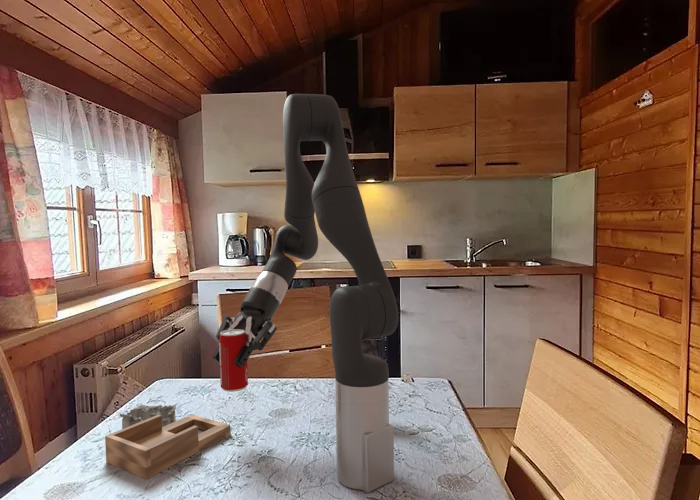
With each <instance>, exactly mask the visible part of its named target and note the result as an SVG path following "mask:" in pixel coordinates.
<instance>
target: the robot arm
mask: <svg viewBox="0 0 700 500" xmlns="http://www.w3.org/2000/svg"><path fill="white" fill-rule="evenodd" d="M285 99H286V100H285V102H284V106H283V110H282V130H283V153H284V154H283V155H284V168H285V169H284V170H285V182H286V183H285V197H284V198H285V201H284V212H283V217H284V220H285V221H286V223H288V224H285V225H282V226H281V227H280V228H279V229H278V230H277V231H276V233H275V237H274V242H273V245H272V246H273V247H272V249H271V252H270V256H269V259H268V260H267V262H266V264H265V266H264V267H263V269H262V270H261V271H260V274H259V275H258V276H257V278H255V280H254V282H253V283H252V285H251V287H250V288H249V290H247V293H246V294H245V297H244V298H243V300H242V301H241V302H240V303H241V304H240V310H239V312H238V314H236V315H235V316H234V317H231V316H230V315H228V314H226V315H225V316H224V317H223V319H222V322H221V323H220V327H219V328H218V330H217V333H216V335H215V338H216V340H218V341H219V338H220V333H221V332H222V331H225V330H231V329H241V330H244V331H245V337H246V338H245V343H244V345H245V346H243V347H242V348H241V350H240V351H239V353H238V355H237V357H236V358H235V360H234V363H235V364H236V365H237V366H238V367H243V365H244V364H245V363H246V362H247V363H248V360H249V358H250V356H251V354H252V353H254V352H255V351H257V350H258V351H263V349H264V348H265V347H266V345H267V344H268V342H269V341H270V340H271V338H273V335H275V332H276V331H277V330H278V327H277V326H276V325H275V323H274V322H273V321H272V320H273V318H274V316H275V315H276V312H277V310H278V309H279V308H280V307H279V306H281V304H282V301H283V300H284V298H285V295H286V292H287V290H288V288H289V287H290V284H291V283H292V281H293V279H294V277H295V275H296V273H297V271H298V268H297V264H296V262H295V261H293V259H291V257H288V256H287V255H289V256H292V257H294V258H297V259H300V260H304V261H308V260H311V259H312V258H314V256H316V253H317V252H318V248H319V237H318V232H317V231H318V230H317V226H316V222H317V225H318V228H319V229H320V231H321V232H322V235H324V237H325V238H326V239H327V240H328V242H329V243H330V244H331V245H332V246H333V247H334V248H335V249H336V250H337V251H338V252H339V253H340V255H342V256H343V257H344V259H345V260H346V261H347V262H348V263H349V265H350V266H351V268H352V270H353V272H354V273H355V277H356V278H357V280H358V283H359V285H352V286H342V287H339V288H337V289H335V291H333V294H332V295H331V298H330V302H329V324H330V325H329V326H330V336H331V337H330V339H331V354H332V355H331V358H332V363H333V366H334V367H333V368H334V373H335V374H334V381H335V382H334V385H335V386H334V387H335V390H334V391H335V394H334V395H335V399H334V400H335V429H336V430H335V435H336V436H335V442H336V443H335V444H336V445H335V446H336V451H335V452H336V475H337V476H336V478H337V480H338V481H339V483H340V484H342V485H343V486H345V487H347V488H350V489H354V490H359V491H360V490H362V491H363V492H365V493H370V492H372V491H374V490H375V489H378V488H380V487H383V486H384V485H387V484H389V483H391V482H392V481H394V480H395V454H394V450H395V449H394V442H395V441H394V438H395V437H394V426H393V424H391V423H390V400H389V399H390V395H389V394H390V393H389V392H390V387H389V386H390V385H389V383H390V381H389V378H390V377H389V375H390V374H389V373H390V372H389V370H390V369H389V363H388V362H387V361H386V360H385V359H383V358H381V357H379V356H376V355H372V354H369V353H368V354H367V353H364V351H363V345H362V341H363V340H371V339H378V338H385V337H387V336H388V337H389V336H391V335H392V334H394V333H395V331H396V330H397V328H398V324H399V309H398V308H399V307H398V304H397V300H396V297H395V294H394V291H393V288H392V286H391V282H390V281H389V277H388V276H387V272H386V270H385V268H384V265H383V262H382V260H381V258H380V256H379V252H378V250H377V247H376V244H375V241H374V239H373V234H372V231H371V228H370V224H369V221H368V217H367V213H366V210H365V206H364V202H363V199H362V195H361V192H360V188H359V187H358V182H357V180H356V177H355V173H354V170H353V169H354V168H353V166H352V163H351V159H350V156H349V151H348V146H347V142H346V137H345V132H344V126H343V120H342V117H341V111H340V109H339V105H338V103H337V101H336V99H335V98H334V97H333V96H332V95H327V94H322V93H321V94H318V93H317V94H316V93H313V94H311V93H293V94H289V95H288V96H287V97H286V98H285ZM315 141H316V142H319V141H320V142H323V144H324V145H325V150H326V151H325V152H326V153H325V158H324V161H323V164H322V166H321V168H320V170H319V172H318V175H317V176H316V179H315V181H314V179H313V176H311V174H310V172H309V170H308V169H307V167H306V165H305V163H304V160H303V158H302V155H301V142H315ZM315 217H316V219H315ZM212 360H213V361H215V362H216V363H219V364H220V356H219V345H218V346H217V348H216V350H215V351H214V353H213V355H212Z"/></svg>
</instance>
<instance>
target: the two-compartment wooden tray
mask: <svg viewBox="0 0 700 500" xmlns="http://www.w3.org/2000/svg"><path fill="white" fill-rule="evenodd" d="M231 431H232V430H231V425H230V424H227V423H224V422H220V421H217V420H214V419H210V418H207V417H202V416H199V415H197V414H189V415H187V416H184V417H183V418H180V419H178V420H175V421H174V422H171V423H170V424H168V425H166V426H164V427H162V416H161V415H156V416H154V417H151V418H149V419H146V420H143V421H141V422H139V423H136V424H134V425H131V426H129V427H126V428H124V429H122V428H121V429H119V430H117V431H114V432H113V433H112V432H111V433H109V434H107V435H105V436H104V441H105V444H104V445H105V463H107V464H110V465H112V466H114V467H117V468H119V469H121V470H124V471H125V472H128V473H131V474H134V475H135V476H139V477H141V478H143V479H145V480H148V479H149V478H151V477H153V476H155V475H157V474H159V473H161V472H163V471H165V470H167V469H168V468H170V467H172V466H174V465H177V464H178V463H179V462H182V461H183V460H186V459H188V458H189V457H191V456H193V455H195V454H197V453H199V452H200V451H203V450H205V449H206V448H208V447H210V446H212V445H213V444H215V443H217V442H219V441H222V440H224V439H225V438H227V437H229V436H230V435H232V433H231Z"/></svg>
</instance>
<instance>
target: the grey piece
mask: <svg viewBox="0 0 700 500" xmlns="http://www.w3.org/2000/svg"><path fill="white" fill-rule="evenodd" d="M176 409H177V403H175V404H173V405H171V404H170V405H162V404H159V405H152V406H151V405H150V406H149V405H146V404H140V405H138V406H136V407H134V408H133V409H130V410H129V412H126V414H125V413H120V414H119V416H118V417H121V418H122V419H121V430H122V429H124V428H126V427H129V426H131V425H134V424H136V423H139V422H141V421H144V420H146V419H149V418H151V417H154V416H156V415H161V416H162V427H164V426H166V425H168V424H171V423H173V422H175V421H176Z"/></svg>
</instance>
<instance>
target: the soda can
mask: <svg viewBox="0 0 700 500" xmlns="http://www.w3.org/2000/svg"><path fill="white" fill-rule="evenodd" d="M245 338H246V337H245V331H244V330H241V329H231V330H225V331H222V332H221V333H220V338H219V340H218V346H219V356H220V363H219V376H220V377H219V378H220V388H221V389H222V390H223V391H224V392H227V393H228V392H229V393H231V392H233V393H235V392H240V391H242V390H244V389H246V388H247V386H248V385H249V375H248V373H249V372H248V361H247V362H246V363H245V364H244V365H243V367H238V366H237V365H236V364H235V363H234V360H235V358H236V357H237V355H238V353H239V351H240V350H241V348H242V347H243V346H245V345H244V343H245Z"/></svg>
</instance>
